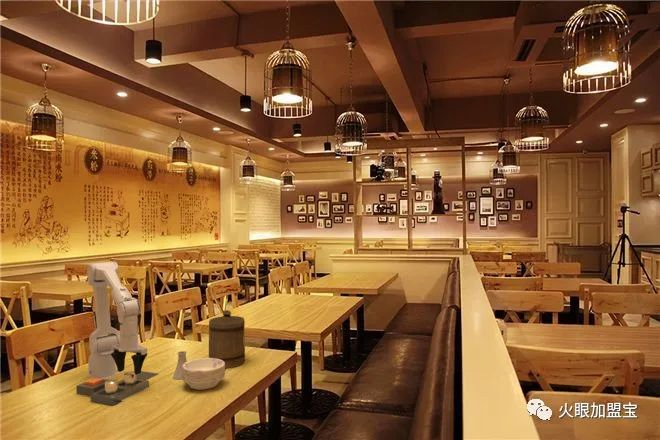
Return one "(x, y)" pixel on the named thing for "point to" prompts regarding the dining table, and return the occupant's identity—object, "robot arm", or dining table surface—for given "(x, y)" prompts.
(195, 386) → the paper bowls
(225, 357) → the wooden container
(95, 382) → the button
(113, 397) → the grey flat rectangular frame
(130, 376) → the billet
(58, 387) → the dining table surface
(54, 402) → the dining table surface
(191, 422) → the dining table surface
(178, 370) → the flask
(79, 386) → the button housing
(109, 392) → the light bulb
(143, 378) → the rubber mat
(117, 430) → the dining table surface
